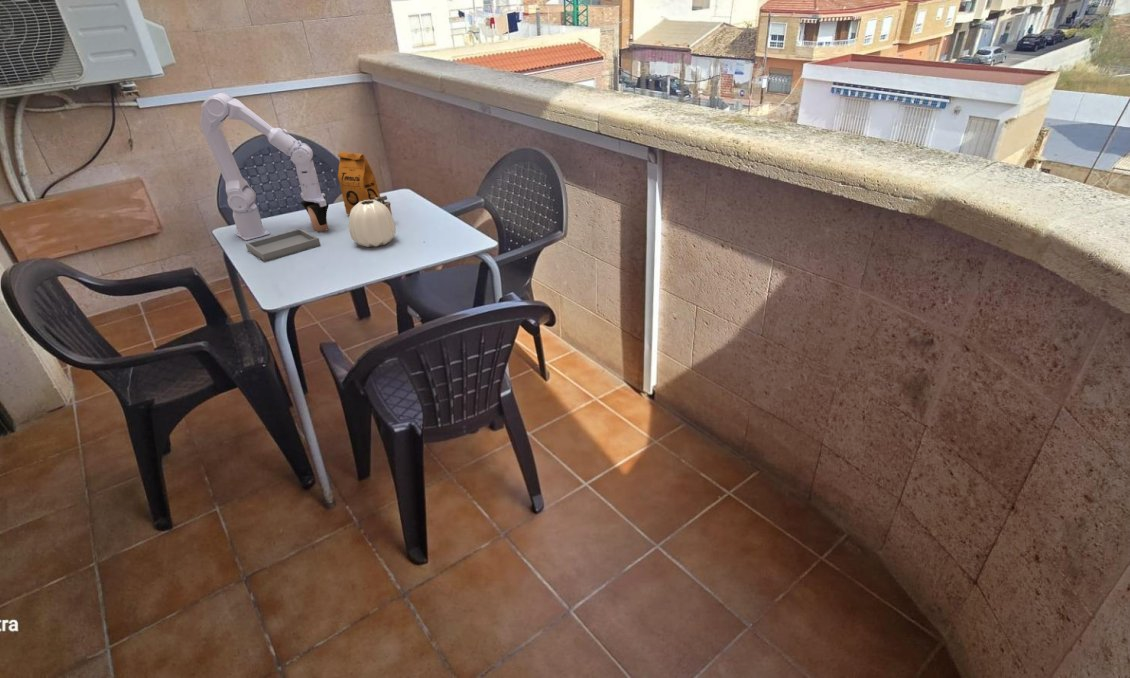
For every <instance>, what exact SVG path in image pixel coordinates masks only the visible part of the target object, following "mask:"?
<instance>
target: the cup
mask: <svg viewBox="0 0 1130 678" xmlns="http://www.w3.org/2000/svg"><path fill="white" fill-rule="evenodd" d="M313 205H316V204H313ZM310 206H312V205H310ZM310 206H308V207H307V208H308V212H309V214H308V216H309V219H310V224H311V227H312V231H313V230H314V231H313V232H316V231H320V232H324V231H323V230H325V231H327V230H328V229H329V228H328V227H329V224H328V219H327V218H326V224H325V225H319V223H318V220H317V218H316V215H315V213H314V212H313V210H312V209H311V208H310ZM308 212H307V213H308ZM326 229H327V230H326Z"/></svg>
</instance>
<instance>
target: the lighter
mask: <svg viewBox="0 0 1130 678" xmlns="http://www.w3.org/2000/svg"><path fill="white" fill-rule="evenodd" d="M374 200H376V201H378V202H381V203H382V204H384V205H385V206H386V207H387V208H388V209H389V211H390V213H391V215H392V216H393V214H392V208H391V201H388V196H387V195H382V196H380V198H377V197H375V199H374ZM386 200H387V201H386Z"/></svg>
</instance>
